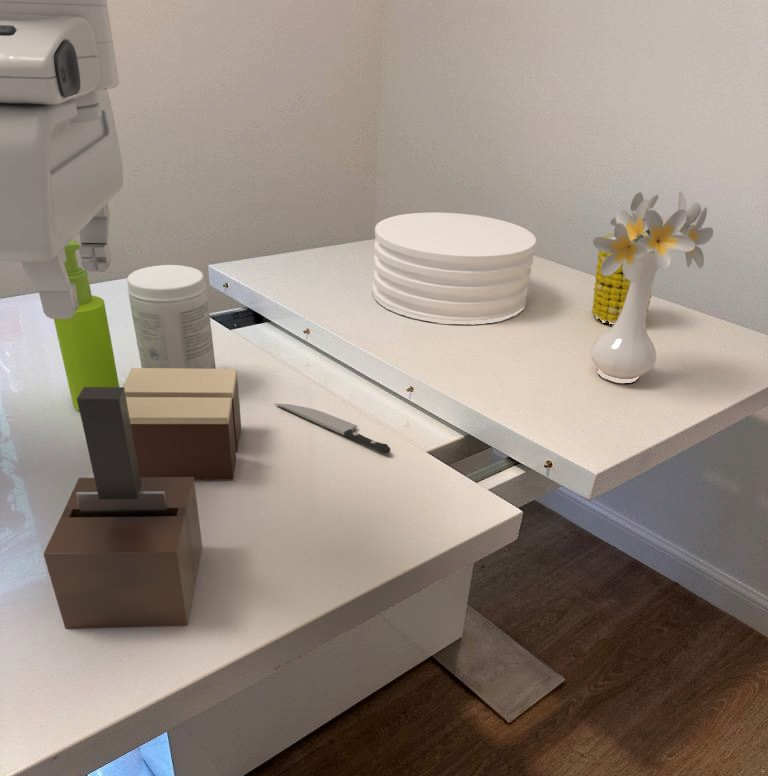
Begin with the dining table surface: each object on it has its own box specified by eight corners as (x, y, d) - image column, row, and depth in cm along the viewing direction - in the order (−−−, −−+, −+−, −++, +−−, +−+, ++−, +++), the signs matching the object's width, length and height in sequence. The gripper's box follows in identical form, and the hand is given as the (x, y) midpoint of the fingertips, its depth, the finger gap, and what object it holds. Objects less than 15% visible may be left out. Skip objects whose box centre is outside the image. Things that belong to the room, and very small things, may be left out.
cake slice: (121, 481, 78) (108, 417, 73) (129, 458, 81) (118, 396, 77) (233, 480, 79) (227, 417, 74) (236, 458, 83) (231, 397, 78)
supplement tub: (210, 366, 102) (200, 261, 94) (222, 395, 95) (212, 285, 87) (140, 373, 99) (123, 266, 91) (146, 403, 92) (128, 290, 84)
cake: (131, 453, 82) (120, 391, 78) (141, 427, 87) (131, 367, 83) (237, 453, 84) (232, 392, 79) (241, 427, 89) (236, 368, 84)
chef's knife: (290, 399, 96) (273, 405, 94) (290, 391, 95) (273, 397, 93) (402, 449, 86) (386, 457, 84) (403, 440, 86) (387, 448, 84)
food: (646, 339, 123) (586, 335, 125) (642, 302, 131) (586, 299, 133) (668, 257, 112) (602, 253, 114) (663, 221, 120) (601, 219, 121)
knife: (96, 592, 63) (48, 398, 52) (101, 577, 65) (55, 386, 54) (177, 591, 64) (146, 399, 53) (180, 576, 66) (151, 387, 55)
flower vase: (553, 386, 103) (591, 201, 88) (598, 347, 115) (638, 179, 101) (642, 414, 97) (698, 220, 82) (679, 369, 110) (734, 195, 95)
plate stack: (410, 264, 147) (414, 205, 140) (543, 290, 137) (554, 228, 131) (345, 304, 126) (346, 236, 119) (496, 338, 117) (507, 266, 110)
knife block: (64, 628, 60) (43, 554, 55) (95, 547, 68) (79, 477, 64) (187, 625, 61) (176, 551, 56) (202, 546, 69) (193, 476, 65)
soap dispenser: (58, 402, 91) (19, 240, 80) (110, 388, 95) (81, 232, 84) (75, 420, 88) (38, 254, 76) (129, 405, 92) (101, 245, 80)
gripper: (31, 38, 49) (73, 246, 57) (-107, 60, 33) (-21, 348, 41) (126, 43, 50) (154, 247, 58) (38, 67, 33) (95, 348, 41)
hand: (82, 290), depth 49 cm, fingers open, 8 cm apart
